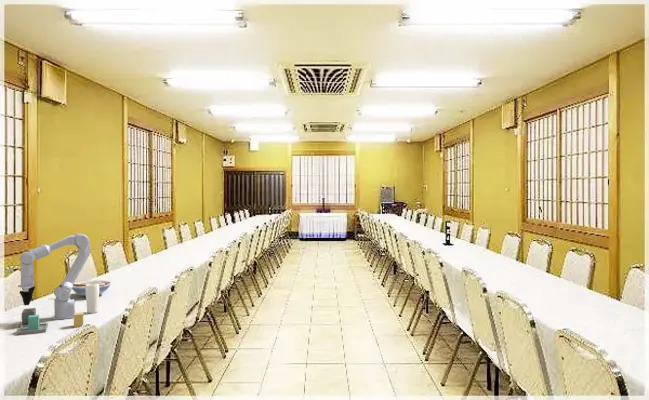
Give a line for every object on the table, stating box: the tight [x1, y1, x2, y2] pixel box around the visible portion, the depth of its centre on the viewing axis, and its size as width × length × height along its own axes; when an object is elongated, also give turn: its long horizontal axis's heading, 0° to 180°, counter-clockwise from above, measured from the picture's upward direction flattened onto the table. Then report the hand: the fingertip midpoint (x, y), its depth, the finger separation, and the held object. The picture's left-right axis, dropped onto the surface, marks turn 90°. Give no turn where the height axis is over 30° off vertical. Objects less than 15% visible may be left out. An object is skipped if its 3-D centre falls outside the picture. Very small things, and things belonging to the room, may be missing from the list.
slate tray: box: [17, 322, 49, 336], centre depth 231 cm, size 11×11×2 cm
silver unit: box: [18, 307, 37, 329], centre depth 241 cm, size 7×10×7 cm
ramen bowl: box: [72, 279, 112, 298], centre depth 304 cm, size 25×23×8 cm
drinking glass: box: [85, 283, 100, 314], centre depth 264 cm, size 7×7×15 cm
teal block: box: [28, 314, 40, 330], centre depth 231 cm, size 4×4×6 cm
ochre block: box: [73, 312, 84, 328], centre depth 239 cm, size 4×4×6 cm
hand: (27, 303), depth 245 cm, fingers open, 7 cm apart
